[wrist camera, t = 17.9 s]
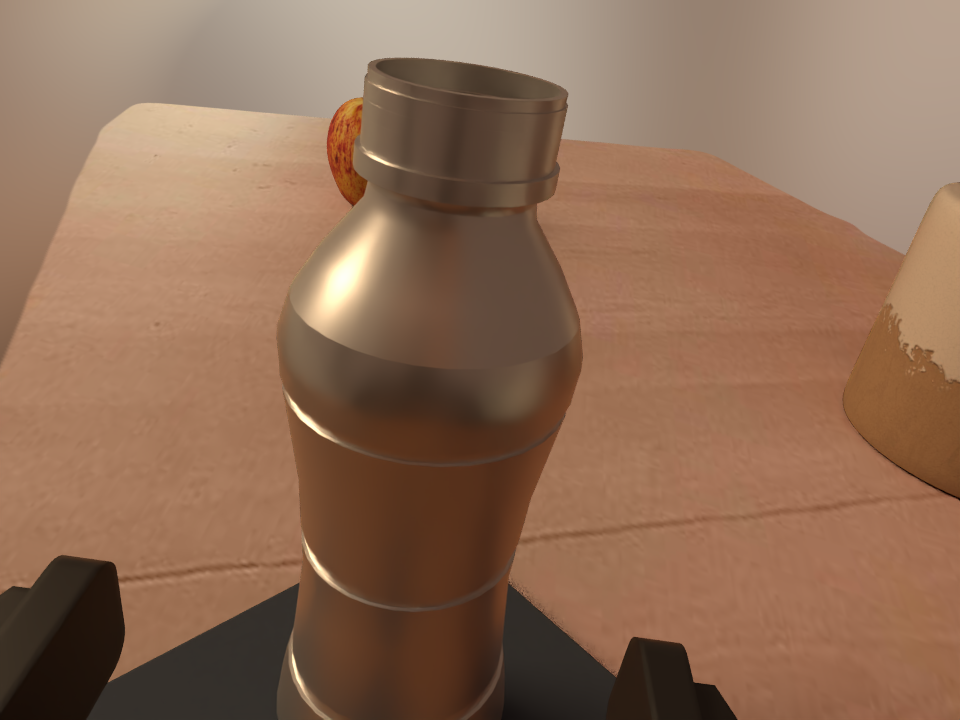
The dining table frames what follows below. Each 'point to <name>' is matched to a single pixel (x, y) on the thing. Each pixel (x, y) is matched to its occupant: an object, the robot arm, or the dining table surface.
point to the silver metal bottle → (425, 394)
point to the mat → (262, 646)
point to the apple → (346, 149)
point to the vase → (917, 356)
